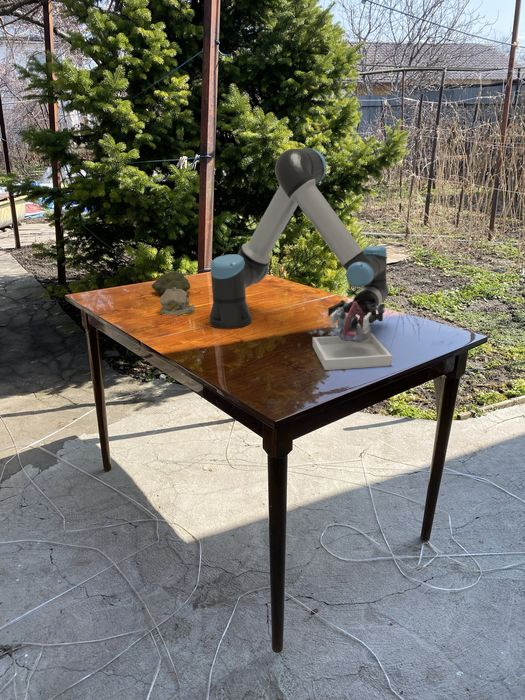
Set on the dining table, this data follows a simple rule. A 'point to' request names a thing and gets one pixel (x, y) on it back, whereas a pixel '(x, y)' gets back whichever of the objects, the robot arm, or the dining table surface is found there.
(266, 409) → the dining table surface
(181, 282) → the decorative rock
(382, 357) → the tray
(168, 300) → the ceramic model
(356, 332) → the brake caliper
